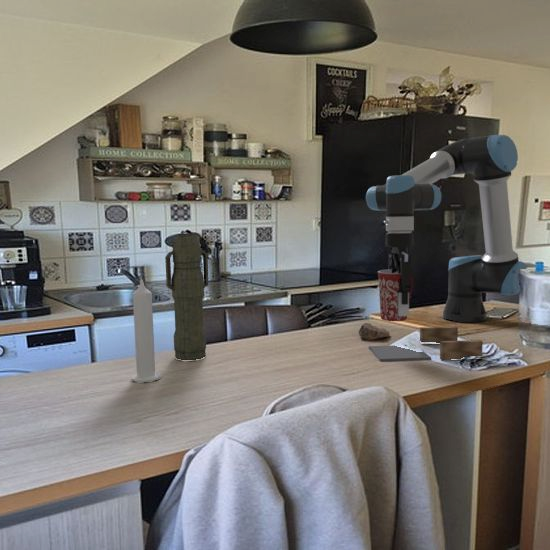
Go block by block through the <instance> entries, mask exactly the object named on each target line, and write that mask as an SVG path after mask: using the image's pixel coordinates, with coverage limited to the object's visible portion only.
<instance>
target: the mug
mask: <svg viewBox="0 0 550 550" xmlns="http://www.w3.org/2000/svg"><path fill="white" fill-rule="evenodd" d="M377 275H378V291H379V309H380V314H379V315H380V319H381V320H383V321H387V322H402V321H406V320H407V319H408V316H398V294H399V293H397V291H398V290H400V289H399V279H400V278H401V273H398V272H395V273H392V270H391V269H389V270H388V269H381V270H378V271H377ZM411 281H412V291H410V292H409V300H410V299H411V295H412V293H413V289H414V278H413V277H412V275H411ZM405 287H406V286H405Z"/></svg>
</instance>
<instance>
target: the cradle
mask: <svg viewBox="0 0 550 550" xmlns="http://www.w3.org/2000/svg"><path fill="white" fill-rule="evenodd" d="M458 328H459V327H457V326H456V325H455V326H429V327H428V326H423V327H420V328H419V342H420V341H421V342H436V343H440V344H439V360H440V359H441V360H440V361H442V362H443V360H451V359H461V358H463V357H470V356H482V357H483V345H484V344H483V342H484V341H482V340H481V339H469V340H467V339H466V340H458V336H459V335H458V334H459V333H458V331H459V329H458ZM451 361H452V360H451Z"/></svg>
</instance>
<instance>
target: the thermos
mask: <svg viewBox="0 0 550 550" xmlns="http://www.w3.org/2000/svg"><path fill="white" fill-rule="evenodd" d="M201 255H202V258H201ZM171 257H172V263H173V272H172V268H171V266H172V264H171ZM202 261H203V262H202ZM201 262H202V266H201ZM202 267H203V269H202ZM202 270H203V272H202ZM165 280H166V282H165V283H166V285H165V286H166V288H167V289H169V290H171V295H172V296H171V297H172V299H173V305H174V328H175V331H174V333H173V350H174V354H175V355H174V358H175V357H176V358H177V359H181V360H196V359H201V358H203V357H205V356H206V357H207V355H206V353H207V352H206V349H207V338H206V337H207V334H206V332H205V329H204V328H205V327H204V305H203V304H204V303H203V302H204V301H203V299H204V296H205V288H206V287H208V286H209V255H208V253H207V252H206V250H204V249H201V244H200V240H199V237H198V235H197V234H195V233H177V234H176V235H174V238H173V242H172V251H169V252H168V253H167V254H166V255H165ZM206 357H205V358H206Z"/></svg>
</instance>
